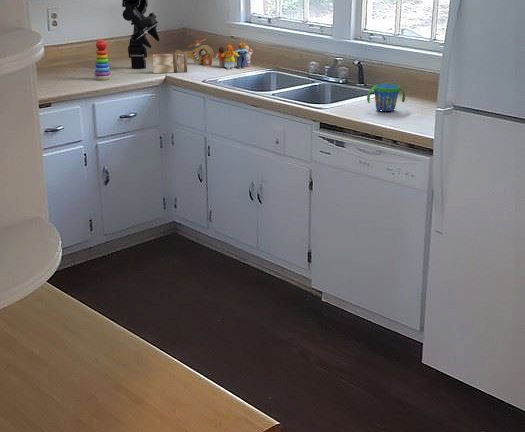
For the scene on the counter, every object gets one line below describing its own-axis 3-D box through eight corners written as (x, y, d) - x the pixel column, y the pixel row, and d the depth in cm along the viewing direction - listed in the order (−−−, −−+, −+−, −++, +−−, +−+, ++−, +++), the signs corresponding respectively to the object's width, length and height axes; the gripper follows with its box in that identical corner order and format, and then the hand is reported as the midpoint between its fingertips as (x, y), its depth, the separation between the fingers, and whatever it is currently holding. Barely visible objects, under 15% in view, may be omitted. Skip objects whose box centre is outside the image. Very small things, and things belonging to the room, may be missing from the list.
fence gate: (177, 71, 405) (176, 53, 401) (177, 72, 403) (177, 53, 400) (153, 72, 402) (152, 54, 398) (153, 73, 400) (152, 54, 397)
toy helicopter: (214, 66, 422) (213, 40, 418) (174, 67, 420) (173, 40, 415) (213, 63, 430) (212, 37, 425) (173, 64, 428) (172, 38, 423)
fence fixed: (178, 72, 403) (177, 53, 400) (178, 72, 405) (177, 53, 401) (187, 72, 404) (187, 53, 401) (186, 71, 406) (186, 52, 402)
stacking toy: (97, 81, 387) (94, 41, 380) (92, 78, 393) (89, 39, 386) (113, 79, 390) (110, 40, 383) (108, 76, 397) (105, 38, 390)
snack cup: (401, 107, 337) (403, 83, 333) (407, 113, 327) (408, 88, 323) (364, 107, 336) (365, 83, 332) (368, 113, 326) (370, 88, 323)
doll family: (251, 65, 426) (251, 40, 421) (259, 68, 418) (259, 42, 413) (214, 68, 417) (213, 42, 413) (221, 71, 409) (221, 45, 405)
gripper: (137, 15, 383) (157, 43, 388) (155, 3, 398) (174, 29, 402) (122, 27, 390) (142, 54, 394) (139, 14, 404) (158, 40, 408)
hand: (154, 44), depth 399 cm, fingers open, 9 cm apart
